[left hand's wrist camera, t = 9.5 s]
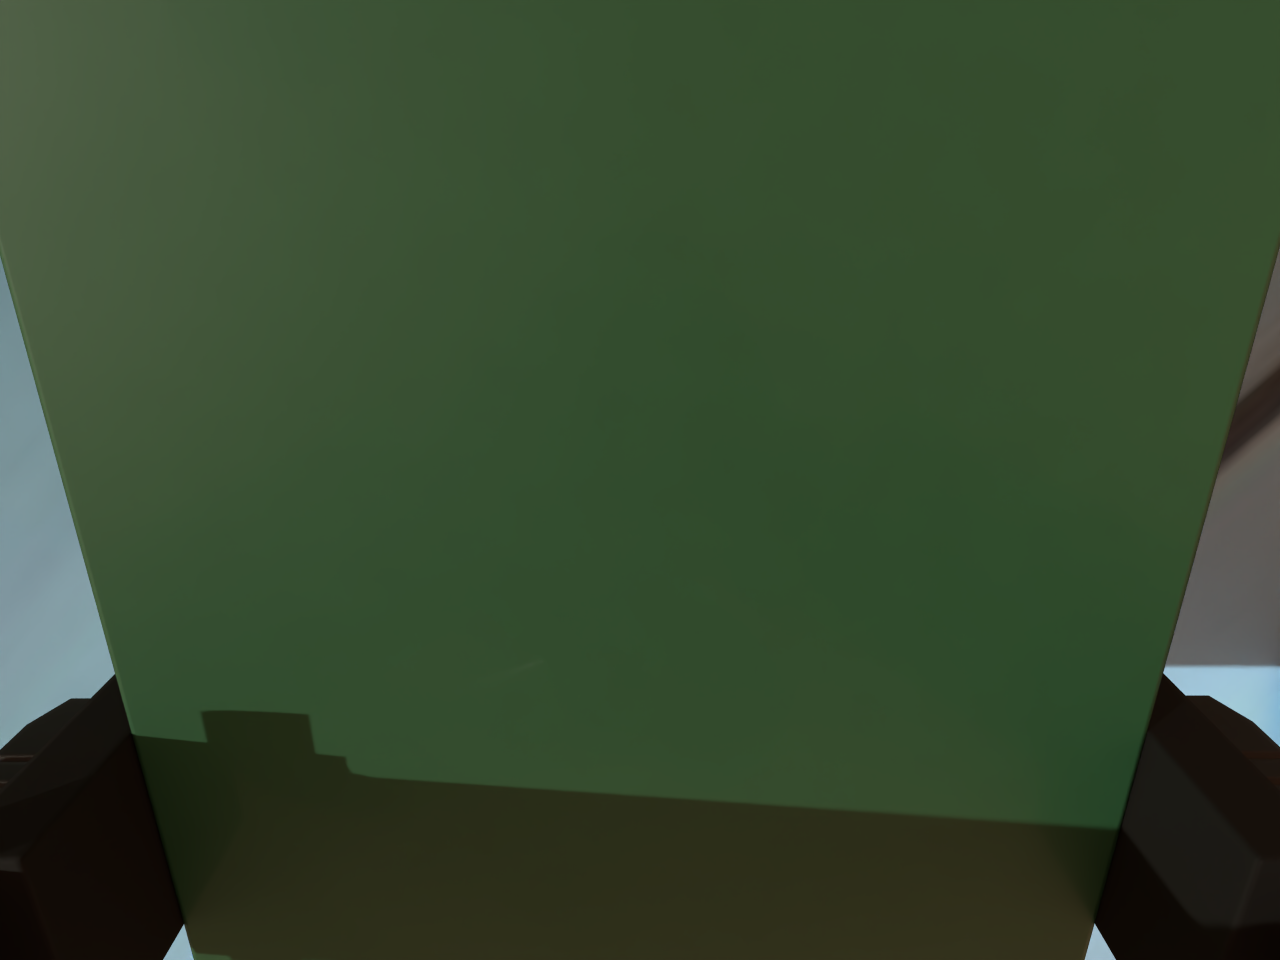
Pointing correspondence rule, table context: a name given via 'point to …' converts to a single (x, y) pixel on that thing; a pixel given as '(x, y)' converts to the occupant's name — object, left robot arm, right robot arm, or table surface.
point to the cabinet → (639, 449)
